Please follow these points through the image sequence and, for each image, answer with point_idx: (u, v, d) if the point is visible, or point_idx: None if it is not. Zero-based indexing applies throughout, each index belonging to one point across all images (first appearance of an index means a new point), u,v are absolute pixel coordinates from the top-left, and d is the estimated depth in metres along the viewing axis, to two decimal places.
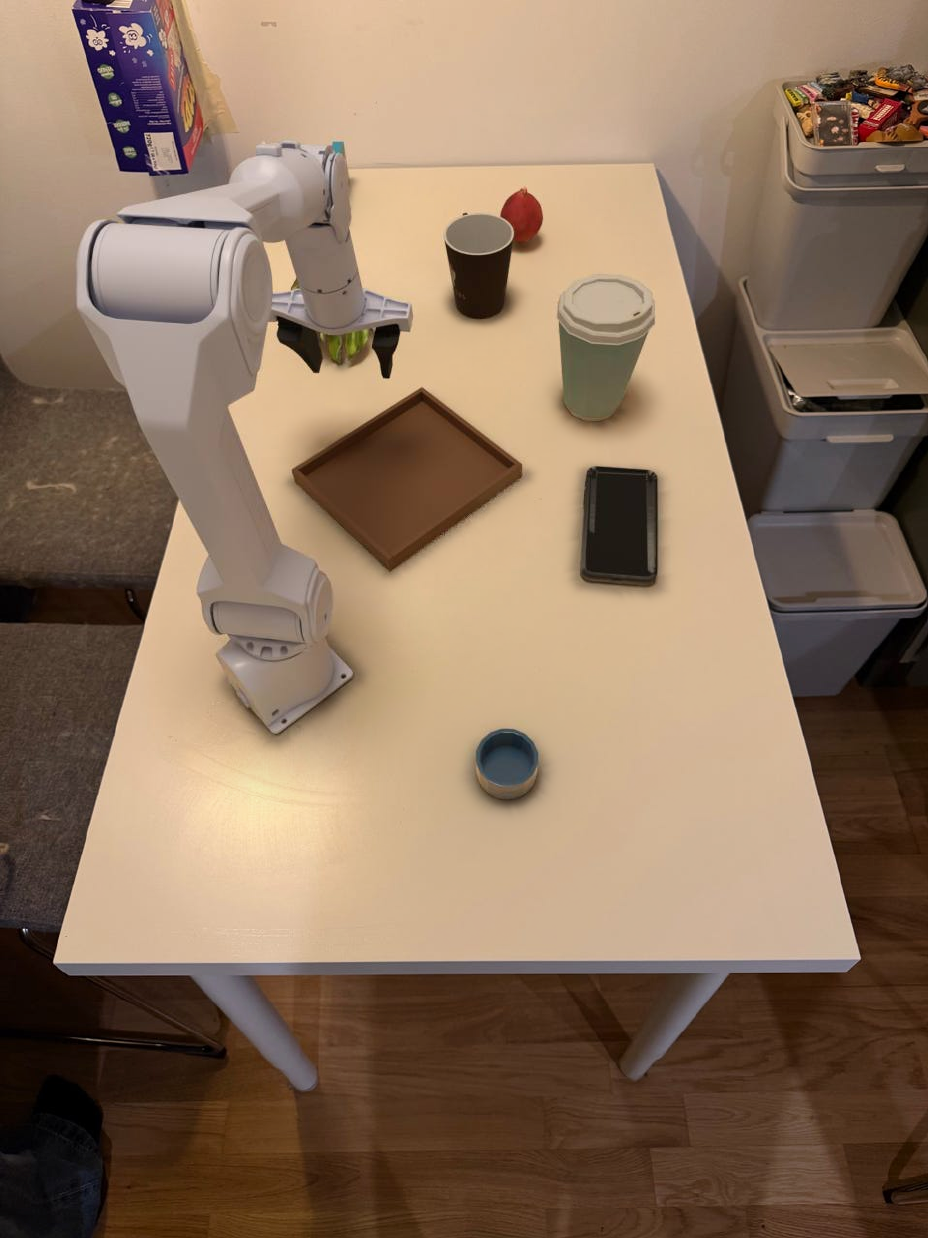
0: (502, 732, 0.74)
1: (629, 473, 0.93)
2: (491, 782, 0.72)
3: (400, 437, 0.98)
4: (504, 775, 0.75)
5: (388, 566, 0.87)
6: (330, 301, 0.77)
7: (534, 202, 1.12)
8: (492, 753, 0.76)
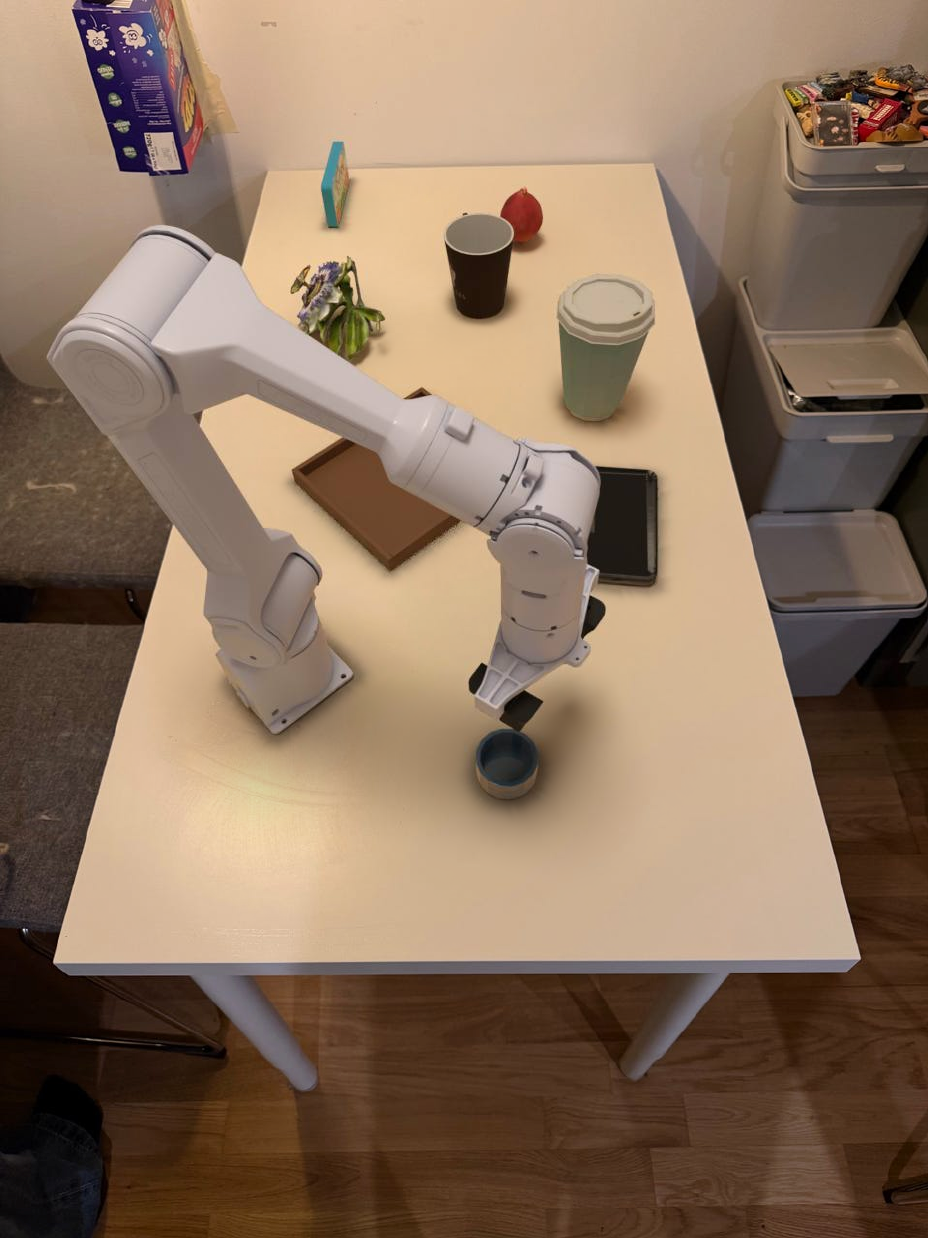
0: (502, 732, 0.74)
1: (629, 473, 0.93)
2: (491, 782, 0.72)
3: None
4: (504, 775, 0.75)
5: (388, 566, 0.87)
6: None
7: (534, 202, 1.12)
8: (492, 753, 0.76)
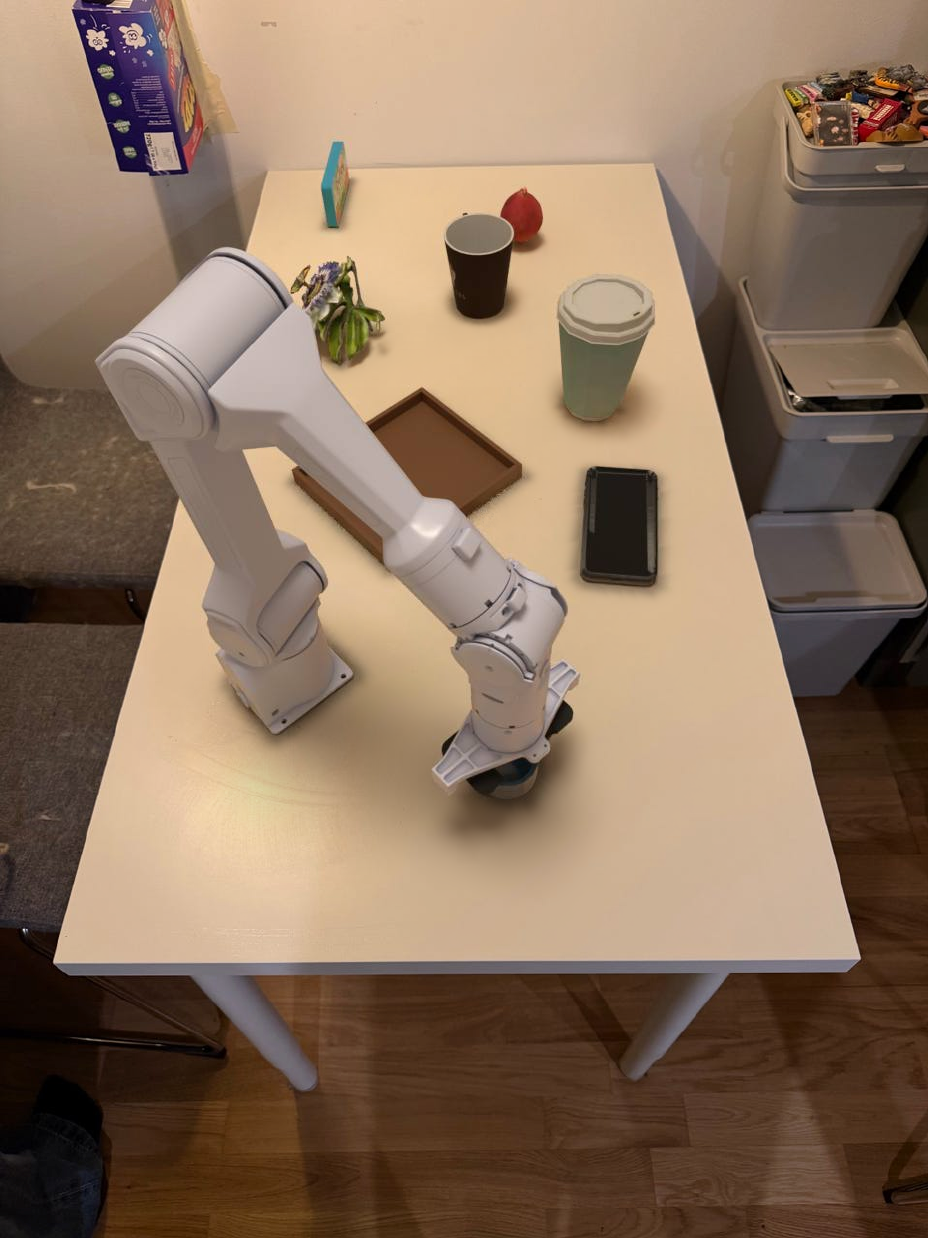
0: None
1: (629, 473, 0.93)
2: None
3: (400, 437, 0.98)
4: (504, 775, 0.75)
5: None
6: None
7: (534, 202, 1.12)
8: None
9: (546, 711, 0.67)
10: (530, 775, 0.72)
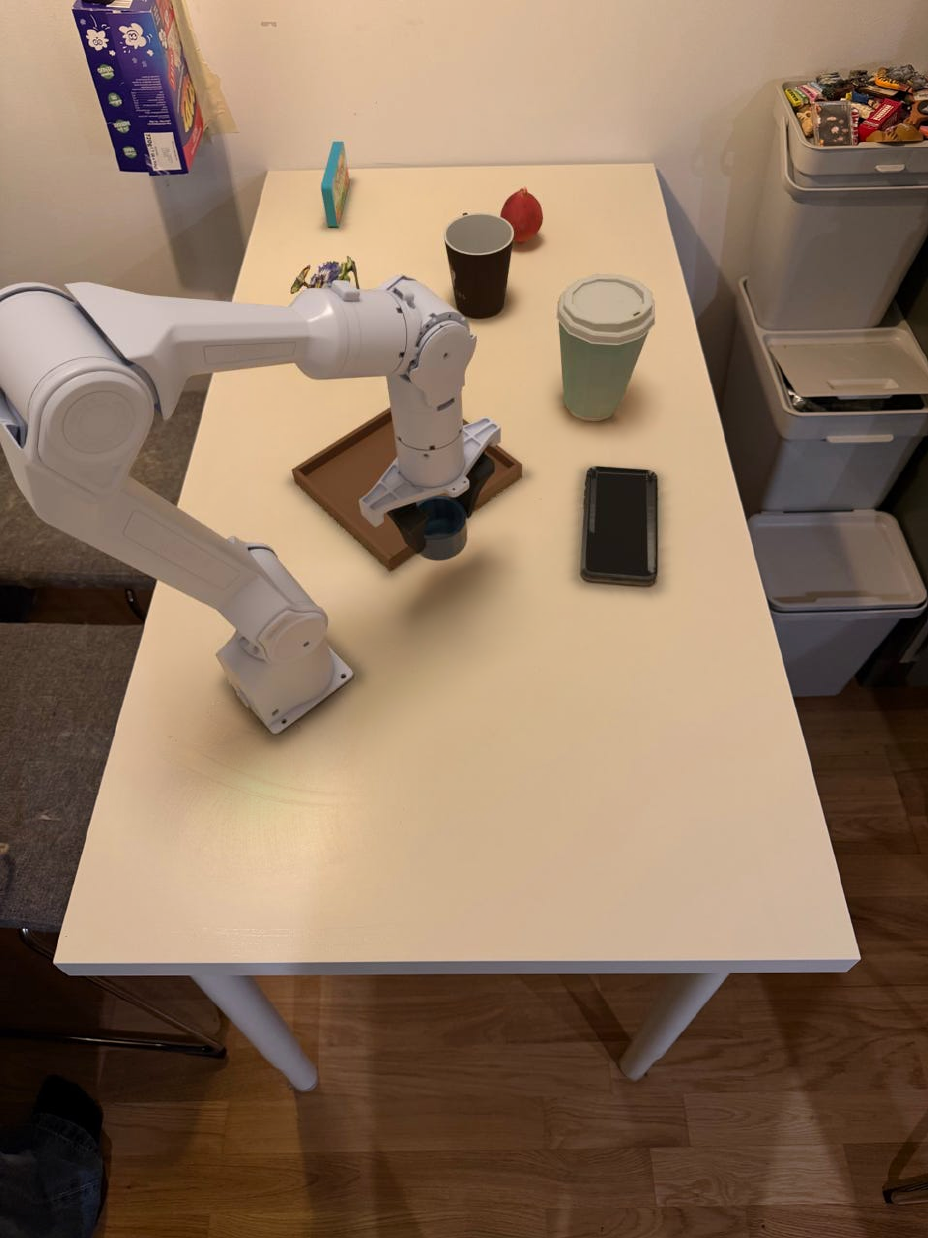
0: (434, 498, 0.80)
1: (629, 473, 0.93)
2: None
3: None
4: None
5: (388, 566, 0.87)
6: None
7: (534, 202, 1.12)
8: (426, 522, 0.82)
9: (467, 457, 0.73)
10: (457, 531, 0.78)
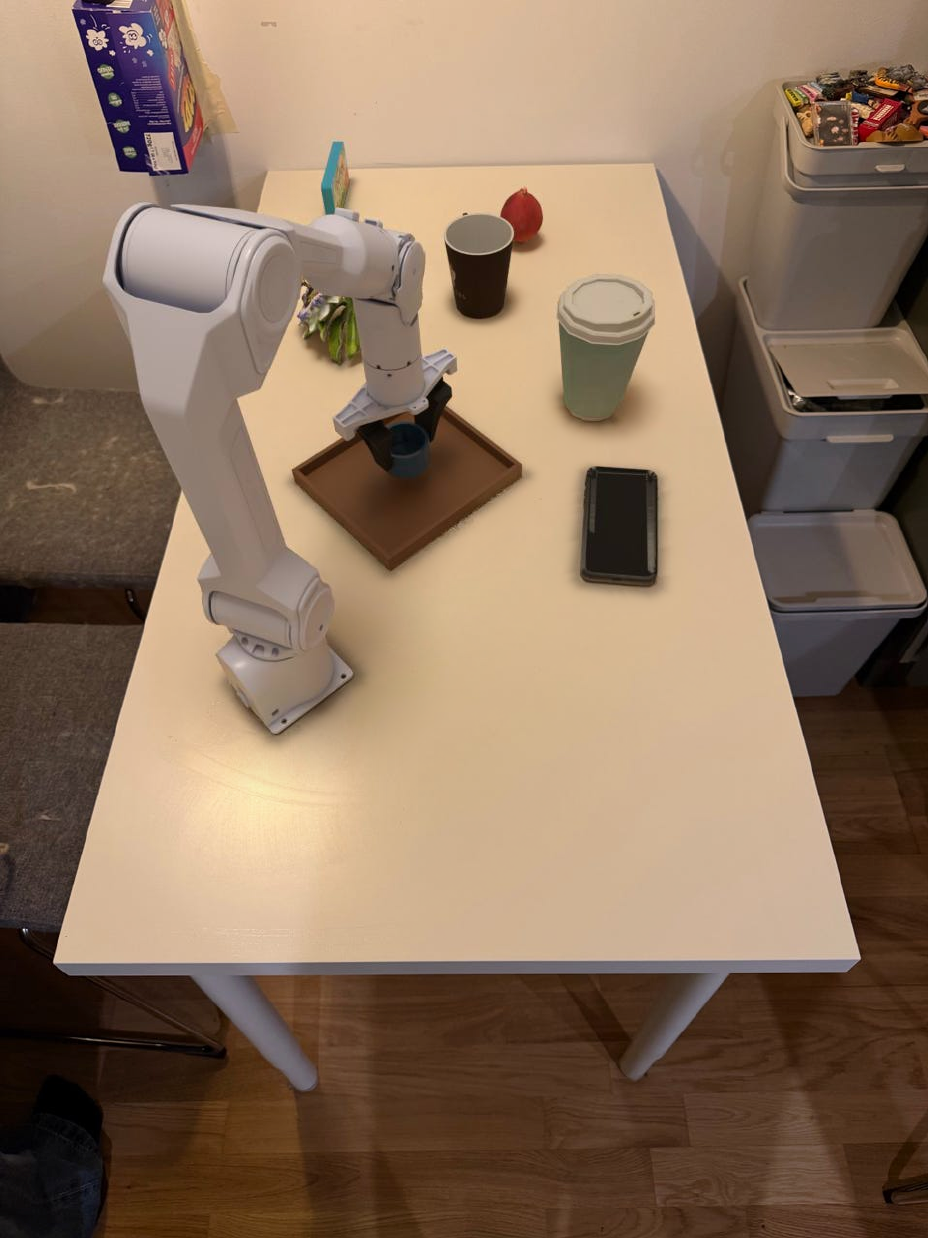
0: (401, 423, 0.91)
1: (629, 473, 0.93)
2: None
3: None
4: None
5: (388, 566, 0.87)
6: None
7: (534, 202, 1.12)
8: (395, 446, 0.93)
9: (427, 382, 0.84)
10: (421, 450, 0.89)
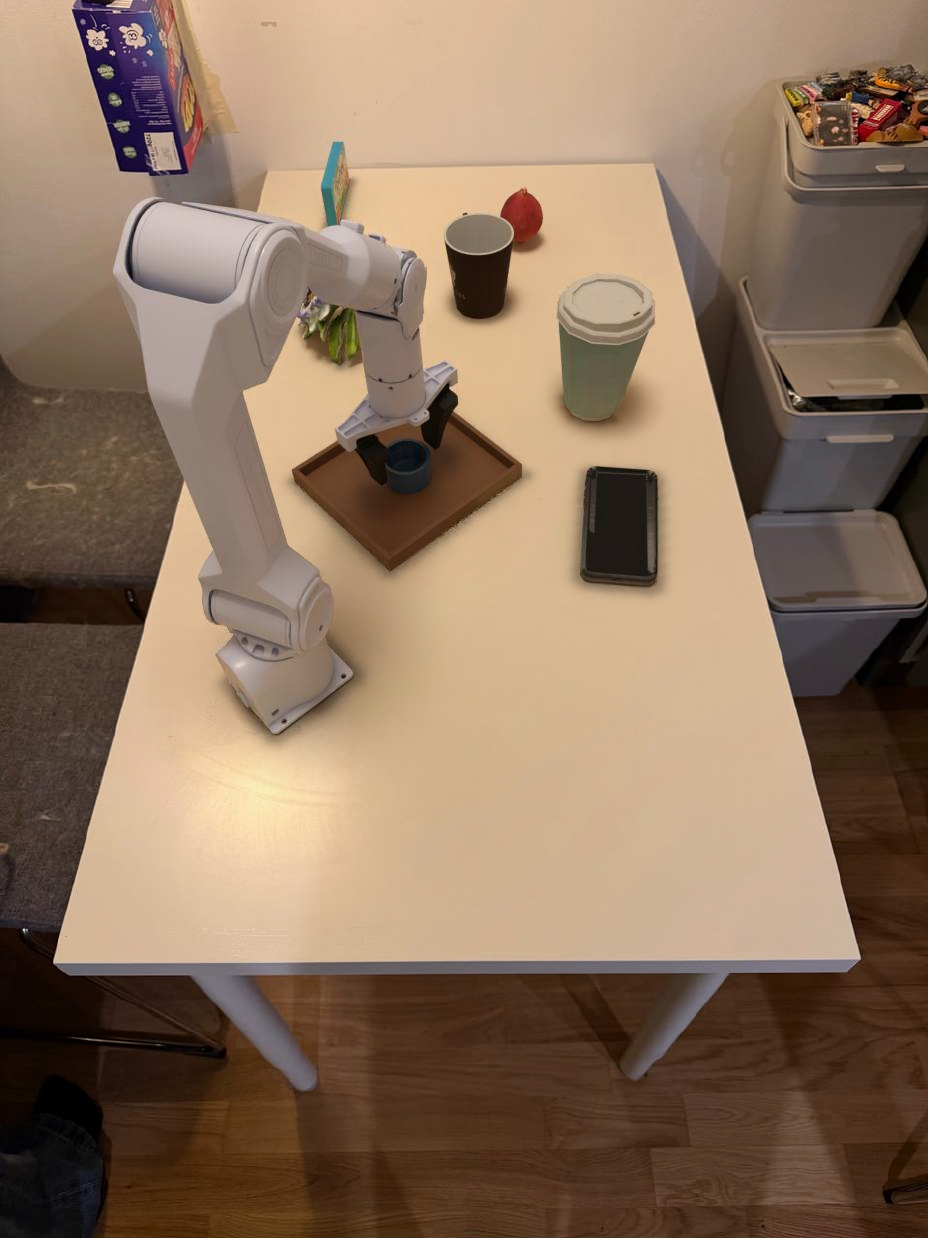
0: (403, 440, 0.93)
1: (629, 473, 0.93)
2: (392, 472, 0.91)
3: (400, 437, 0.98)
4: None
5: (388, 566, 0.87)
6: None
7: (534, 202, 1.12)
8: (397, 462, 0.95)
9: (428, 394, 0.85)
10: (422, 467, 0.91)
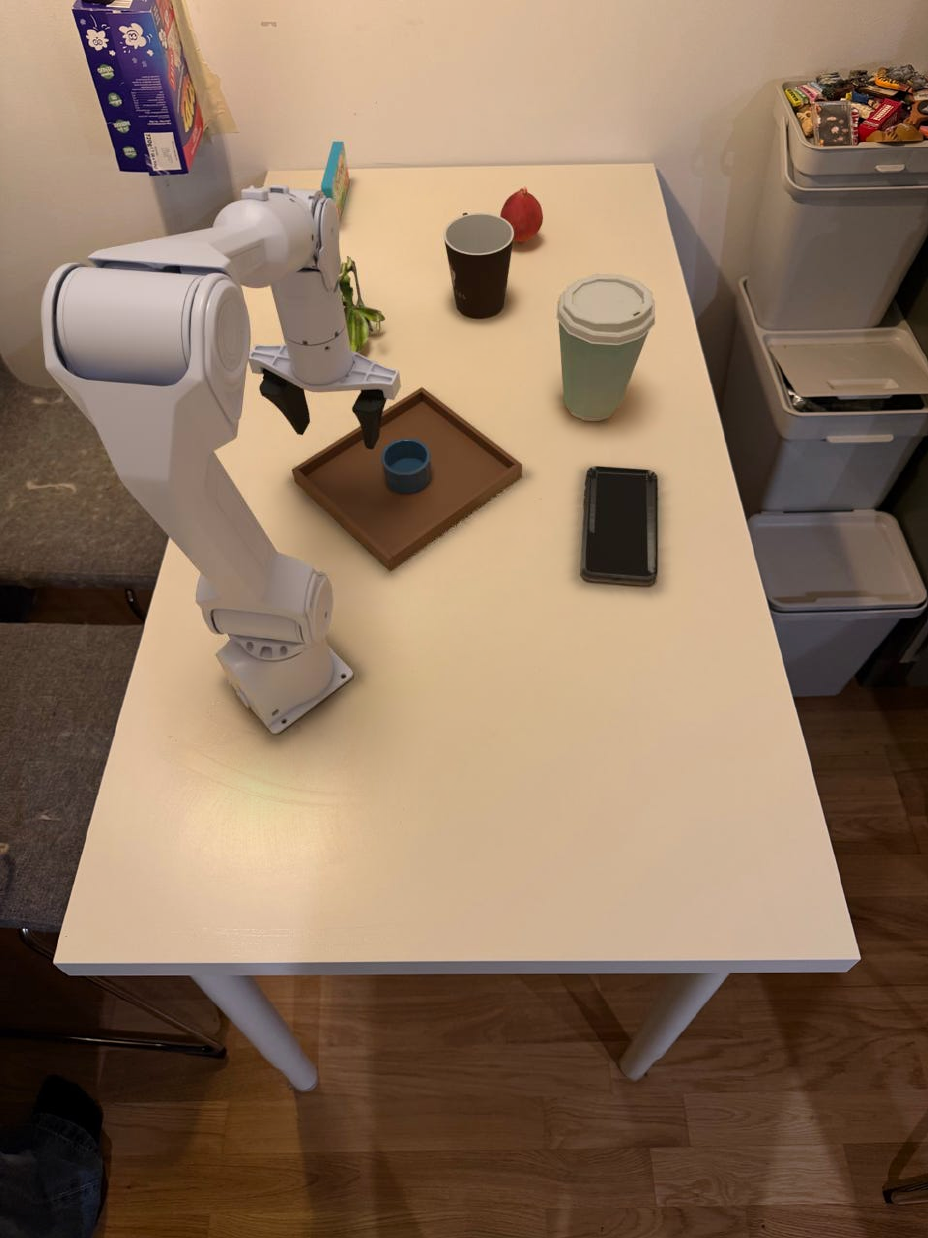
0: (403, 440, 0.93)
1: (629, 473, 0.93)
2: (392, 472, 0.91)
3: (400, 437, 0.98)
4: None
5: (388, 566, 0.87)
6: (312, 354, 0.74)
7: (534, 202, 1.12)
8: (397, 462, 0.95)
9: None
10: (422, 467, 0.91)
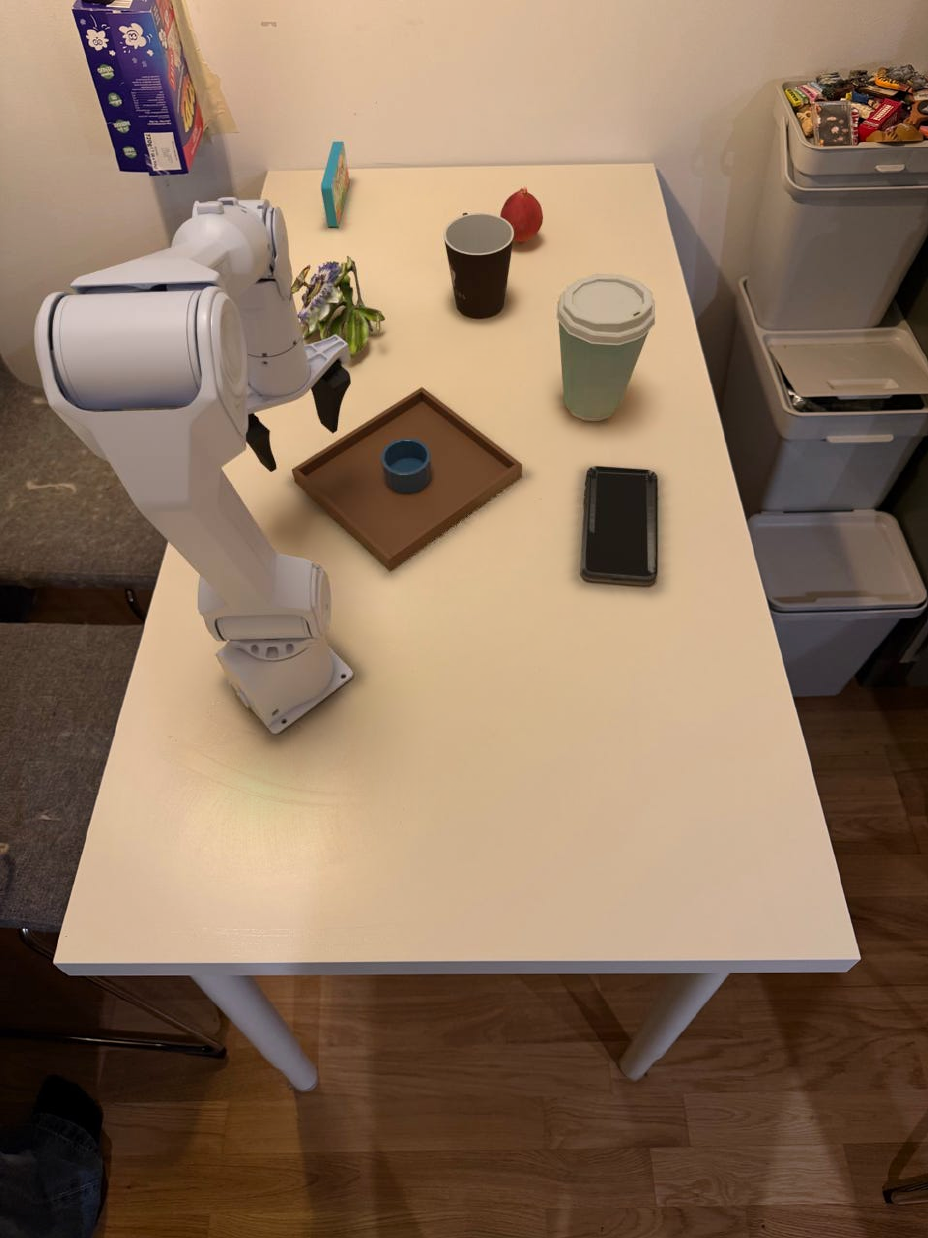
0: (403, 440, 0.93)
1: (629, 473, 0.93)
2: (392, 472, 0.91)
3: (400, 437, 0.98)
4: None
5: (388, 566, 0.87)
6: (296, 356, 0.74)
7: (534, 202, 1.12)
8: (397, 462, 0.95)
9: None
10: (422, 467, 0.91)
